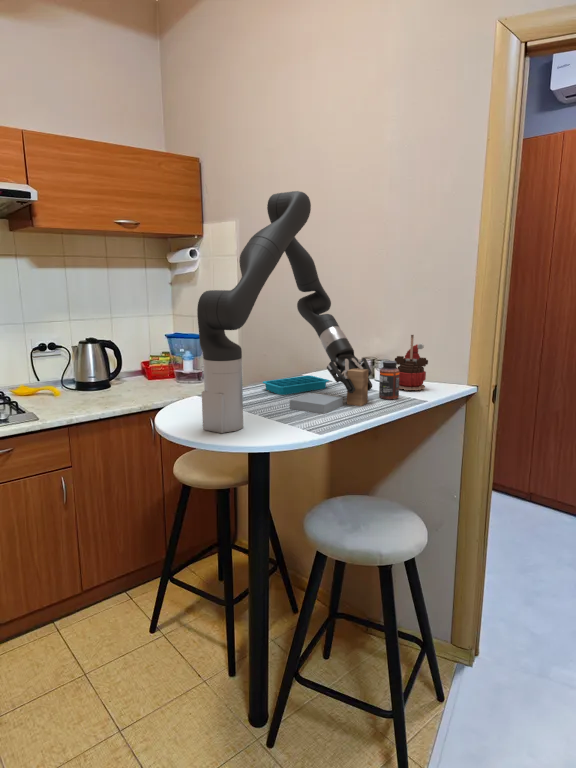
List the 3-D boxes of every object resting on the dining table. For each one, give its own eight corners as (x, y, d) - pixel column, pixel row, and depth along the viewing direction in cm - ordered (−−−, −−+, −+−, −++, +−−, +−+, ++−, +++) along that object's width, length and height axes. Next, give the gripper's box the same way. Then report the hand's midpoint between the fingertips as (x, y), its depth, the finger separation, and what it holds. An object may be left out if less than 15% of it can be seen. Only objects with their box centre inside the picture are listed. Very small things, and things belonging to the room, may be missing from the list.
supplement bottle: (397, 395, 161) (399, 360, 159) (399, 400, 155) (401, 363, 153) (378, 395, 162) (379, 359, 159) (379, 399, 156) (380, 362, 154)
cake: (390, 390, 169) (392, 335, 166) (397, 384, 178) (400, 332, 174) (422, 393, 165) (425, 337, 161) (429, 387, 173) (432, 334, 169)
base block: (324, 415, 140) (324, 404, 139) (289, 410, 146) (289, 399, 145) (342, 407, 149) (342, 397, 148) (309, 402, 155) (309, 392, 154)
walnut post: (361, 406, 148) (361, 371, 146) (346, 404, 150) (347, 370, 148) (367, 403, 152) (368, 369, 150) (353, 401, 154) (354, 368, 152)
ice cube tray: (261, 390, 171) (260, 381, 170) (309, 383, 182) (309, 375, 181) (280, 397, 161) (280, 387, 161) (330, 389, 173) (330, 380, 172)
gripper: (322, 338, 150) (348, 385, 142) (360, 335, 157) (386, 380, 150) (312, 354, 155) (336, 400, 148) (348, 350, 163) (373, 394, 155)
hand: (361, 390), depth 149 cm, fingers closed on walnut post, 6 cm apart
